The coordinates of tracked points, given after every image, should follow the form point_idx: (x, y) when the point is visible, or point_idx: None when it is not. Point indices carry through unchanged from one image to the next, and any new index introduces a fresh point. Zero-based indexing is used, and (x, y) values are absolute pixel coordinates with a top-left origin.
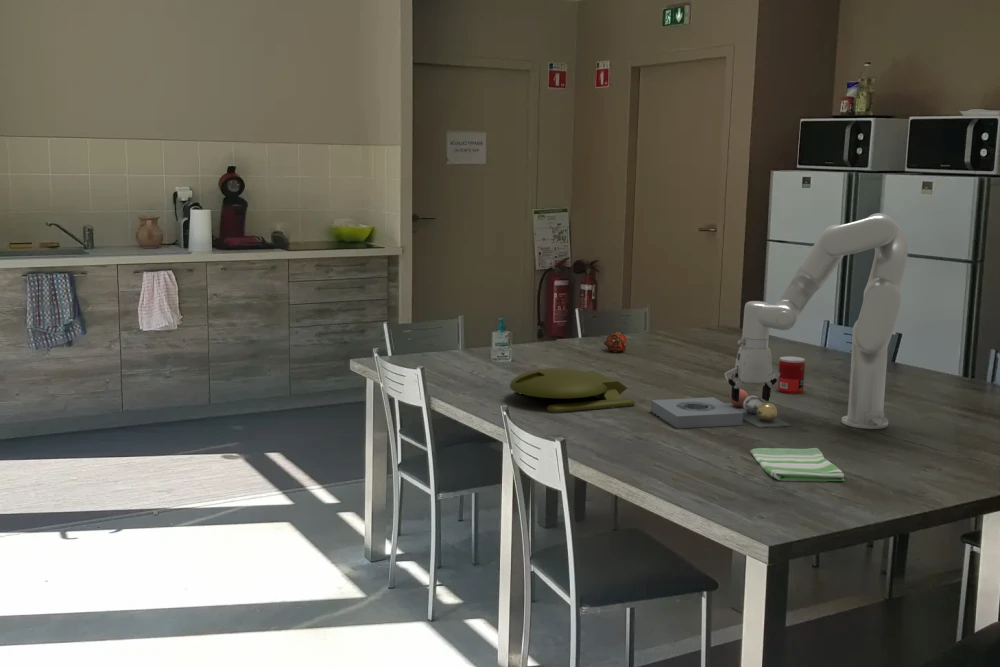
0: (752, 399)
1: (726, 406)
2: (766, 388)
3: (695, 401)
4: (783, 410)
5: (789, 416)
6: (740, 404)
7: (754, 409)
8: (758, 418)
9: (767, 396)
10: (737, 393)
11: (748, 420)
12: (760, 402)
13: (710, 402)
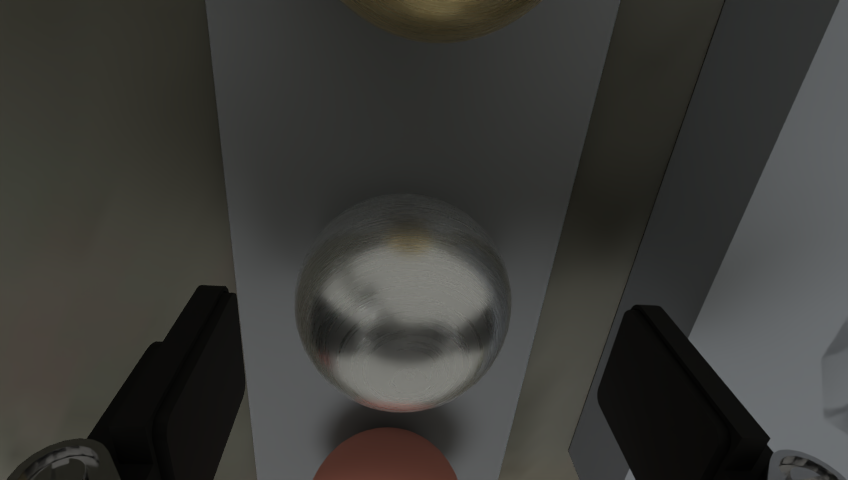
0: (458, 297)
1: (768, 260)
2: (172, 450)
3: (841, 456)
4: (18, 324)
5: (13, 107)
6: (403, 433)
7: (435, 200)
8: (443, 65)
9: (204, 326)
10: (718, 376)
11: (605, 11)
12: (350, 249)
13: (763, 414)
